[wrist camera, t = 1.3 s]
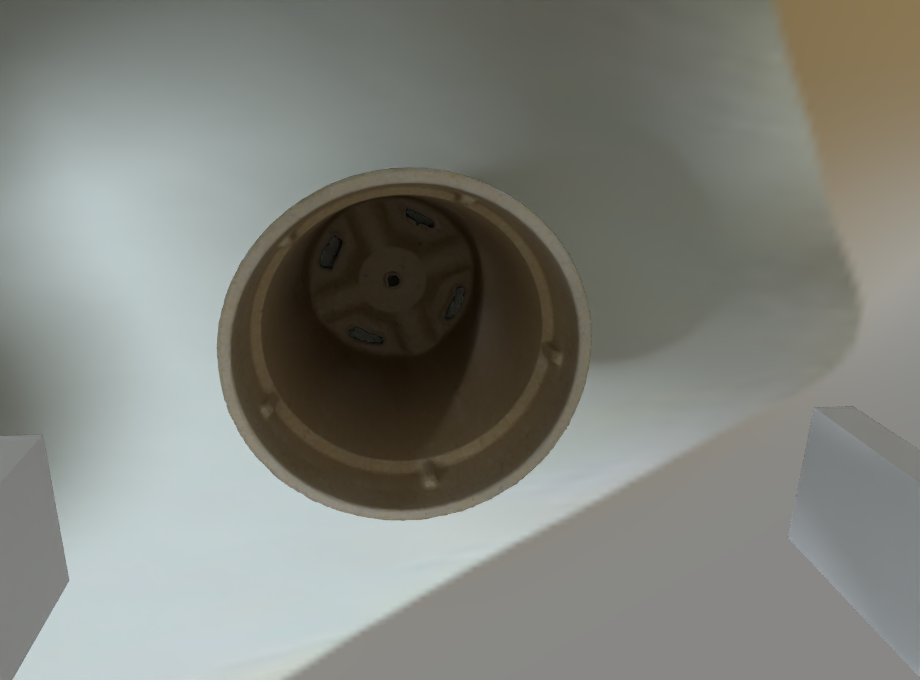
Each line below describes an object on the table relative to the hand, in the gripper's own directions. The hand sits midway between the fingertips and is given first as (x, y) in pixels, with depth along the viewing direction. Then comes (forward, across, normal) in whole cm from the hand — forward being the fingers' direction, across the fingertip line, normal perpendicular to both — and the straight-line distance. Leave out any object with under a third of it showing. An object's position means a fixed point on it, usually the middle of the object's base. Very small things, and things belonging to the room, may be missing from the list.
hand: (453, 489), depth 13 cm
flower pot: (+15, 0, 0) cm, 15 cm away
